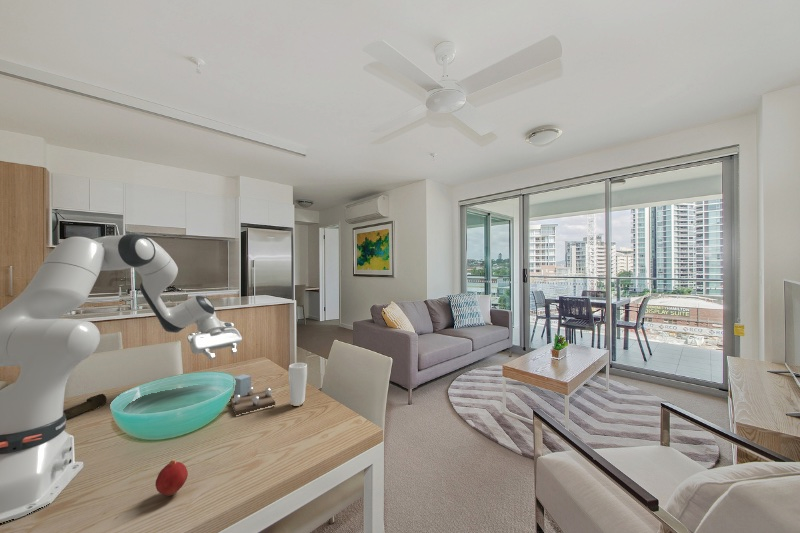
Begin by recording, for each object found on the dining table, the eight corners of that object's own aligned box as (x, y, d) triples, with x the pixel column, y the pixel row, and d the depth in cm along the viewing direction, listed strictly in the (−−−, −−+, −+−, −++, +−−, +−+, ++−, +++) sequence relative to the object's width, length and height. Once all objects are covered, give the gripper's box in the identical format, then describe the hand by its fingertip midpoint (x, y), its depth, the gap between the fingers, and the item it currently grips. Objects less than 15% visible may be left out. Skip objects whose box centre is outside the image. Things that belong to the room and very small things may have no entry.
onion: (148, 504, 65) (149, 467, 66) (168, 485, 71) (169, 451, 71) (174, 504, 66) (175, 467, 66) (193, 485, 71) (193, 452, 71)
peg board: (275, 407, 113) (275, 393, 113) (236, 416, 105) (236, 402, 105) (267, 395, 123) (267, 383, 123) (230, 403, 115) (231, 390, 115)
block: (250, 395, 123) (251, 376, 123) (240, 399, 119) (240, 379, 119) (243, 393, 125) (244, 374, 125) (233, 397, 121) (233, 377, 121)
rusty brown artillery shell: (47, 430, 95) (48, 416, 95) (37, 429, 96) (37, 415, 96) (112, 404, 114) (112, 392, 114) (103, 404, 114) (103, 391, 114)
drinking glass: (297, 409, 111) (298, 369, 111) (284, 406, 113) (284, 366, 114) (310, 402, 117) (311, 364, 117) (297, 399, 120) (297, 361, 120)
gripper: (188, 329, 122) (201, 357, 118) (236, 322, 140) (249, 346, 136) (182, 339, 125) (195, 366, 120) (230, 331, 143) (242, 354, 138)
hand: (224, 355), depth 128 cm, fingers open, 8 cm apart
